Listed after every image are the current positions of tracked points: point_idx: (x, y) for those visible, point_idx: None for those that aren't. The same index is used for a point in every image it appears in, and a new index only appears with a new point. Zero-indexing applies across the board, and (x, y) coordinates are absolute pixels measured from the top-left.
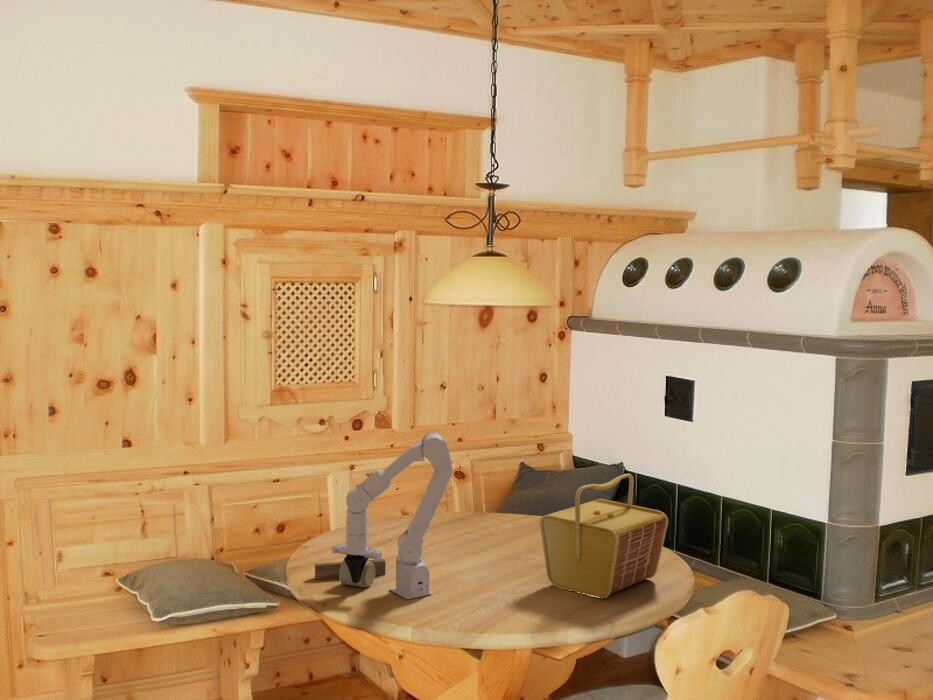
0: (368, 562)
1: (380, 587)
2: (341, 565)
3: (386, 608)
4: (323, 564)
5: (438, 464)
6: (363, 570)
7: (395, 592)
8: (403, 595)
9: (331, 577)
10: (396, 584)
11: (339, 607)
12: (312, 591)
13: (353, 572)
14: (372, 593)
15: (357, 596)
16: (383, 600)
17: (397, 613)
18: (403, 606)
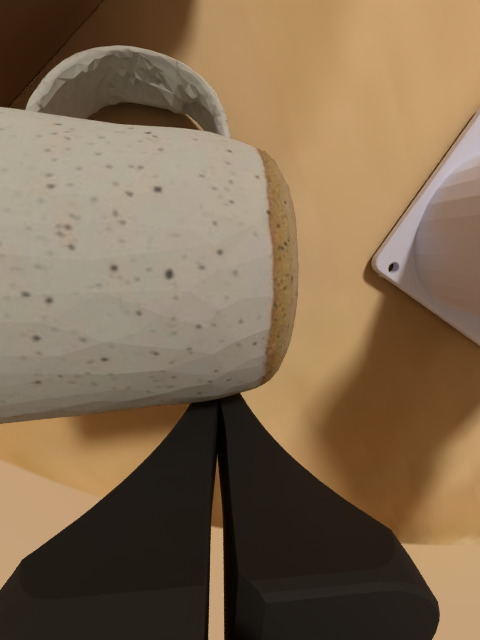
0: (262, 299)
1: (302, 235)
2: None
3: (415, 458)
4: None
5: None
6: (249, 389)
7: (419, 302)
8: (471, 333)
9: None
10: (461, 296)
11: None
12: (17, 447)
13: (212, 498)
14: (299, 342)
15: (251, 407)
16: (380, 396)
17: (463, 476)
18: (474, 415)
